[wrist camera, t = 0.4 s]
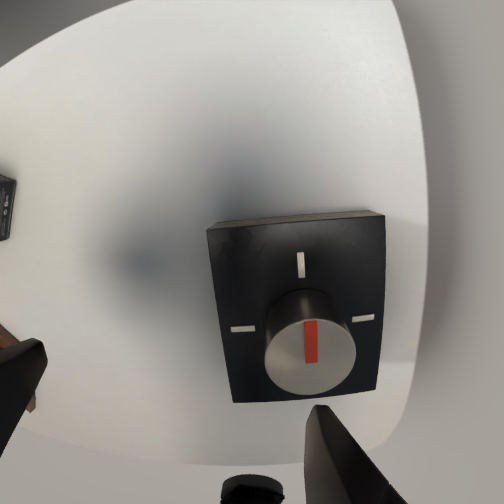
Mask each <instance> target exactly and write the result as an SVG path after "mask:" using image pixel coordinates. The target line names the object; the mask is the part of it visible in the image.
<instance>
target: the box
mask: <svg viewBox="0 0 504 504" xmlns="http://www.w3.org/2000/svg"><path fill="white" fill-rule="evenodd" d="M15 186H16V183H15V182H14V181H13V180H11V179H8V178H6V177H4V176H1V175H0V241H3V240H6V239H8V232H9V226H10V218H11V210H12V203H13V196H14V190H15Z"/></svg>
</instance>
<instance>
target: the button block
mask: <svg viewBox="0 0 504 504" xmlns="http://www.w3.org/2000/svg"><path fill="white" fill-rule="evenodd" d="M17 343H19V341H18V340H17V339H16V338H14V337H13V336H12V335H11V334H10V333H9V332H8V331H6V330H5V329H4V328H3V327H2V326H1V325H0V349H3V348H6V347H8V346H11V345H14V344H17ZM34 409H35V392H34V395H33V397H32V399H31V400H30V402H29V404H28V406H27V408H26V410H27V411H29V412H30V413H31V412H32V411H33V410H34Z"/></svg>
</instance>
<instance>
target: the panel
mask: <svg viewBox="0 0 504 504" xmlns="http://www.w3.org/2000/svg"><path fill="white" fill-rule="evenodd" d="M206 232H207V240H208V248H209V255H210V263H211V270H212V277H213V284H214V291H215V298H216V305H217V311H218V318H219V324H220V330H221V337H222V343H223V349H224V355H225V361H226V366H227V372H228V378H229V383H230V389H231V394H232V400H233V403H249V402H273V401H289V400H302V399H312V398H322V397H330V396H338V395H346V394H353V393H359V392H365V391H371V390H375V389H376V383H377V375H378V368H379V359H380V350H381V340H382V329H383V316H384V299H385V271H386V230H385V215H382V214H379V213H376V212H373V211H370V210H364V211H349V212H334V213H320V214H307V215H294V216H282V217H270V218H259V219H248V220H237V221H227V222H217V223H215V224H214V225H213V226H211V227H210V228H208V229H207V230H206ZM302 289H309V290H316V291H319V292H322V293H324V294H326V295H327V296H329V297H330V298H331V299H332V300H333V301H334V302H335V304H336V305H337V307H338V309H339V311H340V313H341V315H342V317H343V319H344V321H345V323H346V325H347V327H348V330H349V332H350V334H351V336H352V338H353V340H354V343H355V347H356V358H355V362H354V365H353V367H352V370H351V371H350V373H349V374H348V376H347V377H346V378H345V379H344V380H343V381H342V382H341V383H339V384H338V385H337V386H335V387H334V388H332V389H330V390H328V391H325V392H322V393H318V394H313V395H299V394H294V393H290V392H288V391H285V390H283V389H282V388H280V387H279V386H277V385H276V384H275V383H274V382H273V381H272V380H271V378H270V377H269V375H268V373H267V371H266V368H265V342H266V324H267V317H268V314H269V312H270V310H271V308H272V306H273V305H274V304H275V303H276V302H277V301H278V300H279V299H280V298H281V297H283V296H284V295H286V294H288V293H290V292H293V291H297V290H302Z"/></svg>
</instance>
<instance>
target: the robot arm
mask: <svg viewBox="0 0 504 504" xmlns="http://www.w3.org/2000/svg"><path fill="white" fill-rule="evenodd" d="M47 363H48V359H47V355H46V352H45V348H44V345H43V343H42V342H41V341H40V340H37V339H35V338H30V339H28V340H25V341H22V342H19V343H17V344H14V345H11V346H8V347H6V348H3V349H0V457H1V455H2V453H3V451H4V449H5V447H6V445H7V443H8V441H9V439H10V437H11V435H12V433H13V431H14V429H15V428H16V426H17V424H18V422H19V420H20V418H21V417H22V415H23V413H24V411H25V409H26V408H27V406H28V404H29V402H30V400H31V399H32V397H33V395H34V392H35V390H36V388H37V386H38V384H39V381H40V379H41V377H42V375H43V373H44V371H45V369H46V367H47ZM304 478H305V490H306V504H408V503H407V502H406V501H405V500H404V499H403V498H402V497H401V496H400V495H399V494H398V493H397V491H396V490H395V489H394V488H393V487H392V485H391V484H389V482H388V480H387V479H386V478H385V477H384V476H383V474H382V473H381V472H380V471H379V470H378V468H377V467H376V466H375V464H374V463H373V462H372V461H371V460H370V458H369V457H368V456H367V454H366V453H365V452H364V451H363V449H362V448H361V447H360V446H359V444H358V443H357V442H356V441H355V439H354V438H353V437H352V436H351V434H350V433H349V432H348V430H347V429H346V428H345V427H344V425H343V424H342V423H341V421H340V420H339V419H338V418H337V416H336V415H335V414H334V412H333V411H332V410H331V409H330V407H329V406H327V405H314V407H313V408H312V411H311V413H310V415H309V417H308V420H307V423H306V432H305V455H304ZM284 499H285V495H283V494H278V493H274V492H269V491H265V490H261V489H257V488H254V487H250V486H246V485H243V484H239V485H237V486H236V487H235V488H234V489H233V490H232V491H230V492H229V493H228V494H227V495H226V496H225V497H224V498H223V499H221V500H220V504H278V503H280V502H281V501H283V500H284Z"/></svg>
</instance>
